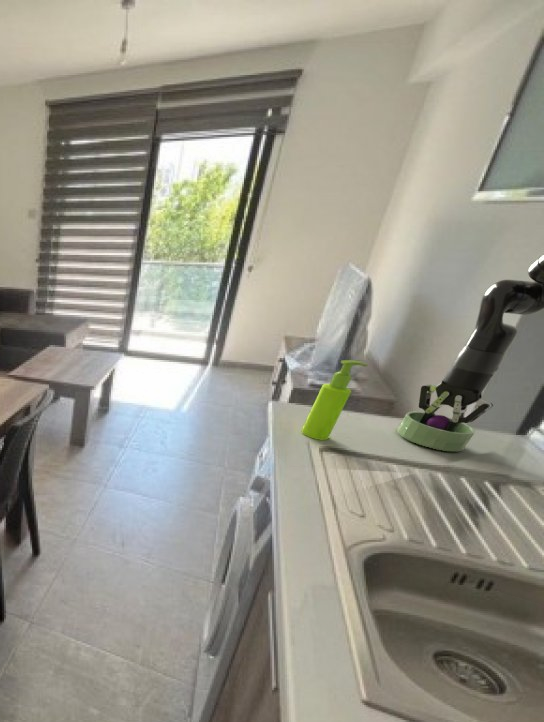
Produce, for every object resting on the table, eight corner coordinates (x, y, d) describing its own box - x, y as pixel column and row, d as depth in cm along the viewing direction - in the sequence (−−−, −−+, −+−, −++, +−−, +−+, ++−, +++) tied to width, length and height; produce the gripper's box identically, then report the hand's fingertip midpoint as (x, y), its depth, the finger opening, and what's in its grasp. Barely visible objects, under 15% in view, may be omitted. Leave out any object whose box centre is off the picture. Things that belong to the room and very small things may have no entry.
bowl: (472, 449, 122) (485, 430, 120) (445, 456, 118) (458, 437, 115) (412, 427, 133) (423, 409, 130) (385, 433, 128) (395, 414, 126)
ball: (448, 433, 123) (458, 418, 121) (439, 436, 121) (449, 420, 119) (428, 426, 126) (437, 411, 124) (419, 428, 125) (428, 413, 123)
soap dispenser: (337, 440, 123) (375, 366, 113) (310, 439, 122) (346, 364, 113) (321, 430, 128) (356, 358, 118) (296, 429, 128) (329, 356, 118)
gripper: (429, 359, 120) (394, 420, 128) (504, 378, 108) (461, 445, 117) (445, 356, 123) (410, 417, 131) (520, 375, 111) (477, 440, 119)
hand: (434, 430), depth 124 cm, fingers closed on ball, 4 cm apart
